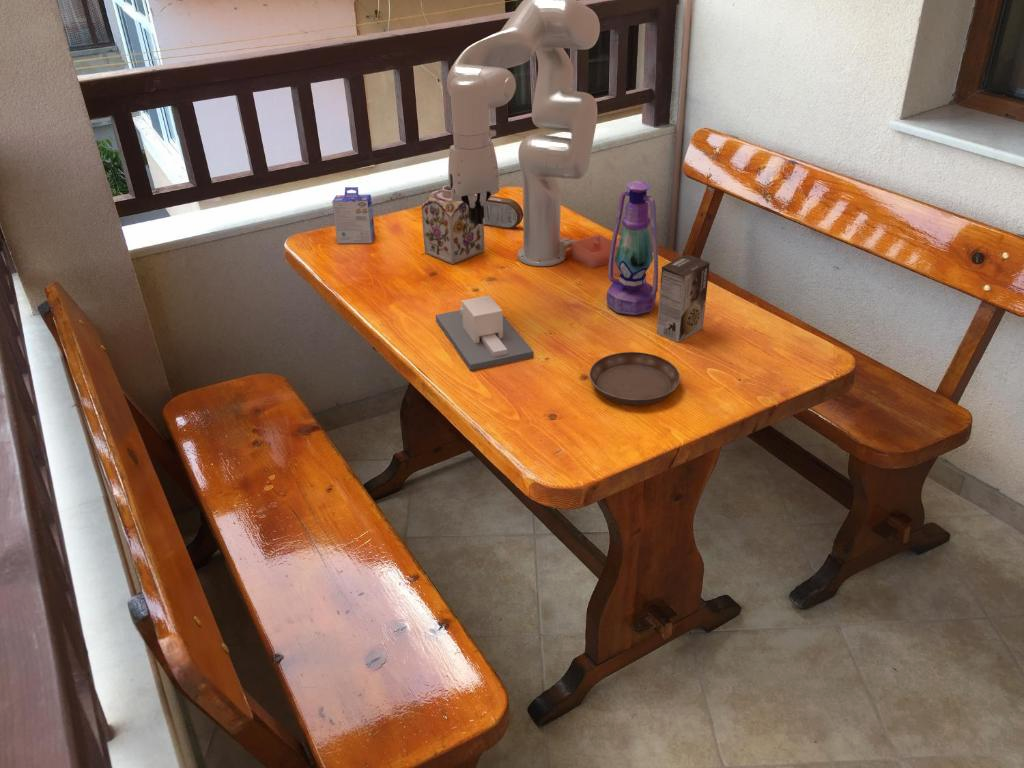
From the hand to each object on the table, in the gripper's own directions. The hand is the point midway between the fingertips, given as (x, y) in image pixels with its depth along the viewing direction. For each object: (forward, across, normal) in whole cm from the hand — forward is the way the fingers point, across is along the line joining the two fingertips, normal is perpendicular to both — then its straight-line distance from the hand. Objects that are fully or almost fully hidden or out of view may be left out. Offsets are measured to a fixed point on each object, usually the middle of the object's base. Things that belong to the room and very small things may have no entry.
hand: (476, 222), depth 187 cm
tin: (+24, -23, -47) cm, 58 cm away
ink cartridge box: (+23, +16, -54) cm, 61 cm away
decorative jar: (+23, -5, -34) cm, 42 cm away
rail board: (+22, +5, +12) cm, 25 cm away
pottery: (+24, -38, -11) cm, 47 cm away
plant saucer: (+22, -16, +43) cm, 51 cm away
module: (+20, +4, +12) cm, 24 cm away
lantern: (+23, -32, +12) cm, 41 cm away
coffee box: (+23, -36, +27) cm, 51 cm away
